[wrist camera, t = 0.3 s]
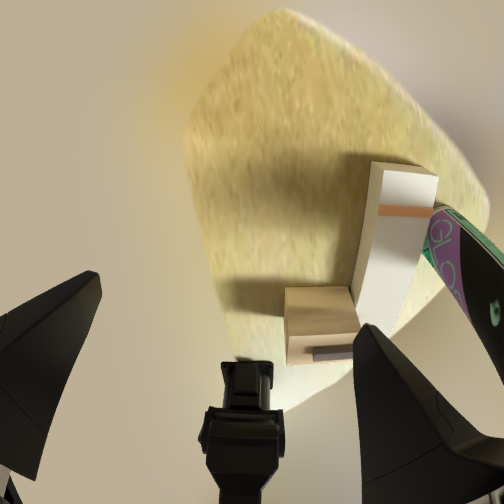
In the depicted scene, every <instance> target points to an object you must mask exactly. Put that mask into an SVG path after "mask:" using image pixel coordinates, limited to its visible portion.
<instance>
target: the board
mask: <svg viewBox="0 0 504 504" xmlns="http://www.w3.org/2000/svg"><path fill="white" fill-rule="evenodd" d="M438 180H439V176H437V175H436V174H434V173H432V172H431V171H429V170H427V169H426V168H424V167H419V166H411V165H404V164H395V163H386V162H376V161H371V169H370V178H369V186H368V194H367V202H366V209H365V215H364V222H363V228H362V234H361V240H360V245H359V250H358V256H357V261H356V266H355V270H354V275H353V280H352V284H351V288H350V295H351V298H352V301H353V304H354V307H355V310H356V313H357V316H358V319H359V322H360V325H361V328H362V326H363V324H365V323H369V324H371V325H375V326H377V327H378V328H379V329H380V330H381V331H382V332H383V334H384V335H385V336H386V337H387V338H389V336H390V334H391V332H392V329H393V327H394V325H395V323H396V320H397V318H398V315H399V313H400V311H401V308H402V306H403V303H404V301H405V298H406V295H407V293H408V290H409V287H410V284H411V282H412V279H413V276H414V273H415V270H416V267H417V264H418V261H419V258H420V254H421V251H422V248H423V244H424V241H425V237H426V233H427V230H428V226H429V222H430V218H432V214H433V210H434V208H433V205H434V200H435V196H436V191H437V185H438Z"/></svg>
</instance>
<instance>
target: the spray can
mask: <svg viewBox="0 0 504 504" xmlns="http://www.w3.org/2000/svg"><path fill="white" fill-rule="evenodd" d="M421 252H422V254H423V255H424V256H425V257H426V259H427V260H428V261H429V263H430V264H431V265H432V267H433V268H434V269H435V271H436V272H437V273H438V275H439V276H440V277H441V279H442V280H443V282H444V283H445V284H446V286H447V287H448V289H449V290H450V292H451V293H452V294H453V296H454V297H455V299H456V300H457V302H458V303H459V305H460V307H461V308H462V310H463V311H464V313H465V314H466V316H467V318H468V319H469V321H470V322H471V324H472V326H473V327H474V329H475V331H476V332H477V334H478V336H479V338H480V339H481V341H482V343H483V345H484V347H485V348H486V350H487V352H488V354H489V356H490V358H491V360H492V362H493V364H494V366H495V368H496V370H497V372H498V374H499V376H500V378H501V380H502V382H503V385H504V254H503V253H502V252H501V251H500V250H499V249H498V248H497V247H496V246H495V245H494V244H493V243H492V242H491V241H490V240H489V239H488V238H487V237H486V236H485V235H484V234H483V233H481V232H480V231H479V230H478V229H477V228H476V227H475V226H474V225H472V224H471V223H470V222H469V221H468V220H467V219H466V218H464V217H463V216H462V215H461V214H460V213H458V212H457V211H456V210H454V209H453V208H451V207H449V206H440V207H437V208H435V209H434V210H433V214H432V218H430V222H429V226H428V230H427V233H426V237H425V241H424V244H423V248H422V251H421Z"/></svg>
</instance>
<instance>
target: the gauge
mask: <svg viewBox="0 0 504 504" xmlns="http://www.w3.org/2000/svg"><path fill="white" fill-rule="evenodd" d="M365 324H369V323H365ZM363 325H364V324H363ZM360 329H361V325H360V322H359V319H358V316H357V313H356V310H355V307H354V304H353V301H352V298H351V295H350V293H349V290H348V287H347V286H328V287H285V302H284V332H285V348H286V365H298V364H318V363H332V362H344V361H352V359H353V349H352V344H353V340H354V338H355V337H356V335H357V334H358V332H359V331H360Z"/></svg>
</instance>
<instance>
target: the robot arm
mask: <svg viewBox="0 0 504 504" xmlns="http://www.w3.org/2000/svg"><path fill="white" fill-rule="evenodd" d="M101 297H102V289H101V283H100V277H99V274H98V273H97V272H93V271H90V270H88V271H85V272H83V273H81V274H79V275H77V276H75V277H73V278H71V279H69V280H67V281H65V282H63V283H61V284H59V285H57V286H56V287H53V288H51V289H50V290H48V291H46V292H44V293H42V294H40V295H38V296H36V297H35V298H33V299H31V300H29V301H27V302H25V303H23V304H22V305H20V306H18V307H16V308H15V309H13V310H11V311H9V312H8V314H7V313H6V314H4V315H2V316H0V504H23V503H22V501H21V499H20V497H19V495H18V493H17V491H16V488H15V486H14V484H13V482H12V479H11V476H10V472H11V470H12V471H14V472H16V473H18V474H20V475H22V476H24V477H26V478H28V479H31V480H33V481H35V480H36V477H37V472H38V468H39V464H40V460H41V456H42V453H43V449H44V446H45V442H46V439H47V436H48V432H49V429H50V426H51V423H52V420H53V417H54V414H55V411H56V408H57V406H58V403H59V400H60V398H61V395H62V392H63V390H64V387H65V385H66V382H67V380H68V377H69V375H70V373H71V370H72V368H73V365H74V363H75V361H76V359H77V357H78V354H79V352H80V350H81V348H82V345H83V344H84V341H85V339H86V337H87V335H88V332H89V329H90V327H91V324H92V321H93V318H94V316H95V313H96V310H97V308H98V305H99V303H100V300H101ZM352 349H353V377H354V390H355V398H356V407H357V417H358V427H359V439H360V454H361V474H362V504H504V438H494V437H489V436H486V435H484V434H482V433H480V432H479V431H478V430H476V428H475V427H473V425H471V424H470V423H469V422H468V421H467V420H466V419H465V418H464V417H463V416H462V415H461V414H460V413H459V412H458V411H457V410H456V409H455V408H454V407H453V406H452V405H451V404H450V403H449V402H448V401H447V400H446V399H445V398H444V397H443V396H442V395H441V393H439V391H438V390H436V388H435V387H434V386H433V385H432V384H431V383H430V382H429V381H428V379H427V378H426V377H425V376H424V375H423V374H422V373H421V372H420V371H419V370H418V369H417V368H416V367H415V366H414V365H413V363H412V362H410V360H409V359H408V358H407V357H406V356H405V355H404V354H403V353H402V352H401V351H400V350H399V349H398V348H397V347H396V346H395V345H394V344H393V343H392V342H391V341H390V340H389V339H388V338H387V337H386V336H385V335H384V334H383V332H382V331H381V330H380V329H379V328H378V327H377V326H375V325H371V324H364V325H363V326H362V328H361V329H360V331H359V332H358V334H357V335H356V337H355V338H354V340H353V344H352ZM221 370H222V374H223V378H224V383H225V391H224V399H223V408H215V407H212V406H209V409H208V411H206V412H205V418H204V423H203V426H202V429H201V431H200V434H199V436H198V441H199V443H200V444H201V446H202V451H203V454H206V465H207V467H208V469H209V471H210V473H211V475H212V476H213V478H214V480H215V482H216V483H217V485H218V487H219V488H220V494H219V504H261V492H262V490H263V489H264V487H265V486H266V485H267V483H268V482H269V481H270V479H271V478H272V476H273V475H274V473H275V472H276V470H277V469H278V466H279V464H278V463H279V458H283V457H284V452H285V430H284V418H283V409H278V410H270V390H271V389H272V388H273V370H274V364H273V363H271V362H222V363H221Z"/></svg>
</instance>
